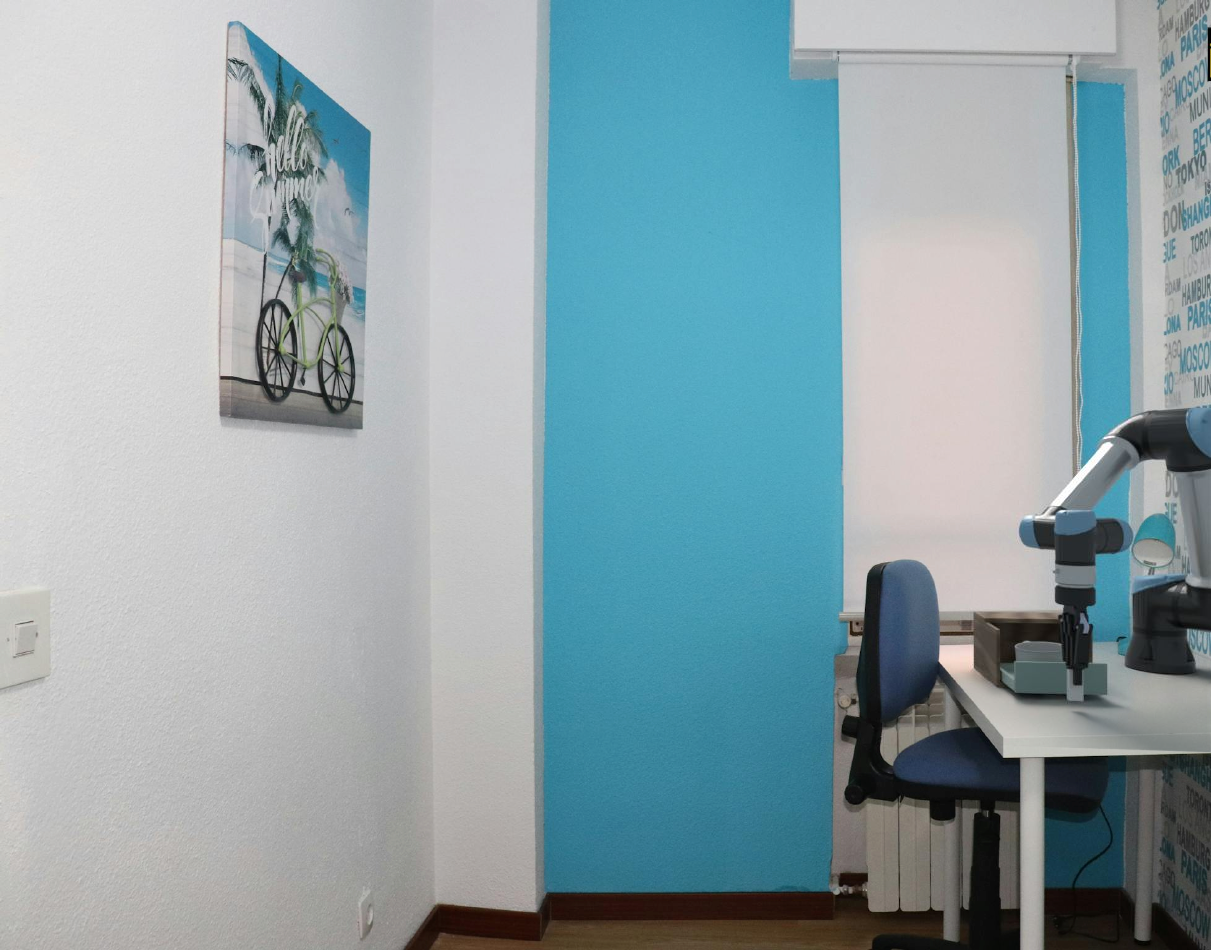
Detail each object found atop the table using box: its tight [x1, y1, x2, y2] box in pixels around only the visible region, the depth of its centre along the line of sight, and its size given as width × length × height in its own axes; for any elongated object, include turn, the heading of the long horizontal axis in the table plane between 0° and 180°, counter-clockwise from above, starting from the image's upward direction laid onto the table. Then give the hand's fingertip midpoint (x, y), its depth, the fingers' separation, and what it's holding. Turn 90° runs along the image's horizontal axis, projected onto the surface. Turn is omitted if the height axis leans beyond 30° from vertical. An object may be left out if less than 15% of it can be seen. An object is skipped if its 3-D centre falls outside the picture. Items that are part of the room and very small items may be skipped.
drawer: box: [1000, 661, 1108, 696], centre depth 209 cm, size 19×20×7 cm
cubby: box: [973, 611, 1094, 688], centre depth 219 cm, size 21×20×14 cm
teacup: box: [1015, 641, 1063, 662], centre depth 209 cm, size 14×11×8 cm
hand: (1075, 700), depth 191 cm, fingers closed
